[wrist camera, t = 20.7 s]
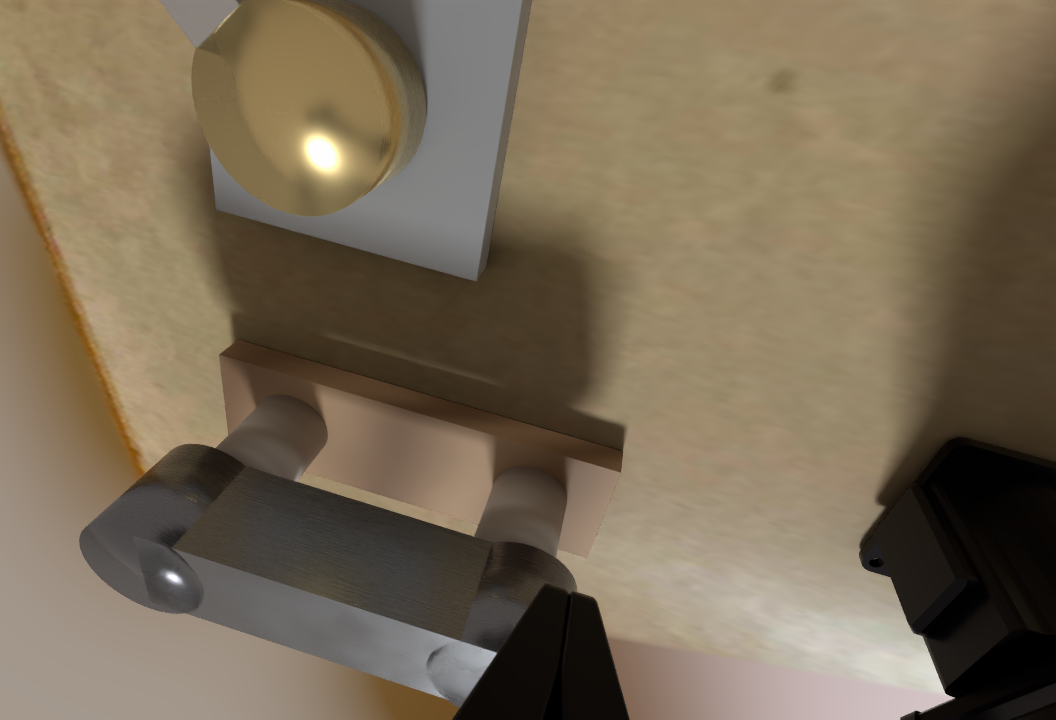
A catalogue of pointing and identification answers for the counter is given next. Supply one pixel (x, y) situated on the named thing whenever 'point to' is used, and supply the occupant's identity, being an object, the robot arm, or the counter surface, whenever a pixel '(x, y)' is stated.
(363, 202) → the plate
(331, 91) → the lever switch
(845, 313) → the counter surface
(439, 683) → the grey knobbed rod
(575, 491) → the peg rack
